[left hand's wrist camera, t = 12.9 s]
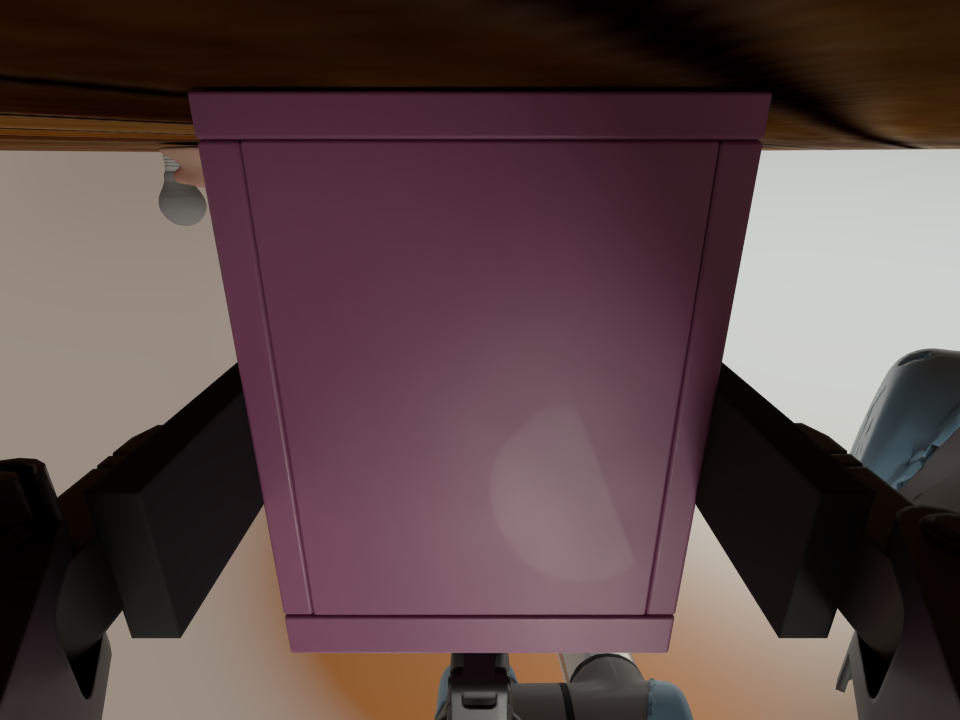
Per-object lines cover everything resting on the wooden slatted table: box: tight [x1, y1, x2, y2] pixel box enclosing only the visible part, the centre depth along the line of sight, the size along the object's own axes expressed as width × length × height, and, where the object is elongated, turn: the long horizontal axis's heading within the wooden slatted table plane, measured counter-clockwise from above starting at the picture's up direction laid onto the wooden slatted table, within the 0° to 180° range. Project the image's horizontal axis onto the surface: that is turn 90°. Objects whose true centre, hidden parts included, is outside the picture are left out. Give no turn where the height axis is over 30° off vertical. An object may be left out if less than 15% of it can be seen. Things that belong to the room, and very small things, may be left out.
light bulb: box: [159, 155, 207, 226], centre depth 74 cm, size 6×6×10 cm
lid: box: [285, 611, 674, 653], centre depth 20 cm, size 14×9×9 cm
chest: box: [188, 91, 772, 615], centre depth 16 cm, size 13×9×11 cm
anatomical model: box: [159, 146, 206, 188], centre depth 43 cm, size 13×4×12 cm
